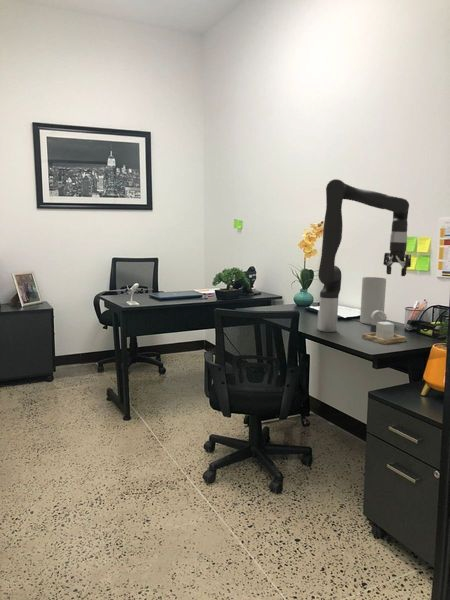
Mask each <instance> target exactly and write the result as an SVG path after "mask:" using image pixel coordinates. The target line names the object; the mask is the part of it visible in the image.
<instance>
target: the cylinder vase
mask: <svg viewBox="0 0 450 600" xmlns="http://www.w3.org/2000/svg"><path fill="white" fill-rule="evenodd" d="M361 279H362V280H361V283H362V284H361V298H360V314H359V316H360V317H359V323H362V324H364V325H369V326H371V325H373V324H372V322H371V319H370V318H371V314H372V313H373V312H374V311H376V310H379V311H383V312H384V313H385V305H386V304H385V303H386V302H385V301H386V290H387V278H385V277H374V276H366V277H365V276H364V277H362V278H361ZM374 321H375V323H376V325H377V322H382V319H381V318H380V316H379V312H377V313H375V314H374Z"/></svg>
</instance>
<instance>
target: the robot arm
mask: <svg viewBox="0 0 450 600" xmlns="http://www.w3.org/2000/svg"><path fill="white" fill-rule="evenodd" d="M325 194H326V195H325V197H326V198H325V199H326V202H325V203H326V207H325V208H326V209H325V215H324V220H323V222H324V223H323V231H322V242H321V243H322V245H321V256H320V262H319V267H318V280H319V282H320V283H321V284H323V288H322V289H321V290H320V292H319V307H318V309H319V310H318V311H317V321H316V322H317V325H316V328H317V331H319V332H326V333H334V332H337V330H338V316H339V315H338V314H339V313H338V311H339V310H338V309H339V295H340V291H341V289H342V288H341V287H342V286H341V285H342V270H341V268H339V266H336V265H335V263H336V262H335V261H336V256H337V252H338V251H339V248H340V245H341V243H342V236H343V215H342V213H343V212H342V206H343V201H344V200H347V201H353V202H357V203H361V204H363V205H366V206H370V207H372V208H376V209H381V210H387V211H388V212H389V211H390V212H392V223H391V233H390V237H389V238H390V240H389V252H384V256H383V265H384V266H386V271H385V272H386V275H392V266H393V265H394V264H395V263H396V264H399V265H400V266H401V272H400V273H401V274H400V276H401V277H405V276H406V275H407V270H408V268H411V267H412V255H411V253H410V254H406V251H407V246H408V245H407V244H408V226H409V225H408V219H409V218H408V215H409V210H410V209H409V208H410V202H409V201H408V200H407V199H405V198H403V197H398V196H392V195H388V194H385V193H382V192H378V191H373V190H370V189H369V190H368V189H363V188H362V189H361V188H358V187H354V186H351V185H349V184H347V183H345V182H344V181H343V180H341V179H338V178H333V179H331V180H330V181H328V183H327V185H326V187H325Z"/></svg>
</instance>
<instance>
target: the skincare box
mask: <svg viewBox="0 0 450 600" xmlns="http://www.w3.org/2000/svg"><path fill="white" fill-rule="evenodd" d="M394 330H395V324H394V323H392V322H390V321H386V322H377V325H376V337H377V338H381V339H393V335H394V334H395V332H394Z"/></svg>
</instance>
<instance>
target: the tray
mask: <svg viewBox="0 0 450 600" xmlns="http://www.w3.org/2000/svg"><path fill="white" fill-rule="evenodd" d="M361 335H362V336H361V338H362V339H363V340H368V341H371V342H374V343H378V344H381V345H392V344H397V343H403V342H404V343H405V342H407V336H404V335H399V334H395V333H394V335H393V339H381V338H377V337H376V332H369V333H368V332H367V333H362V334H361Z"/></svg>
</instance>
